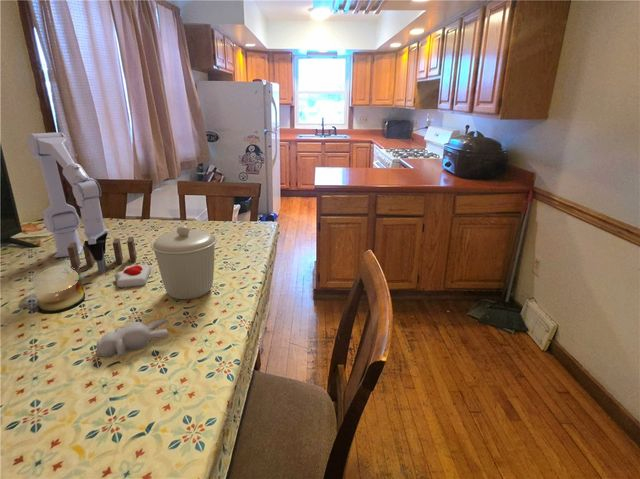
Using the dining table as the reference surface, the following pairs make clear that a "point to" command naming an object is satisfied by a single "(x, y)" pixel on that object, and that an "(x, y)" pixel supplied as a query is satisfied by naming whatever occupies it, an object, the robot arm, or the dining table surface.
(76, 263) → the domino
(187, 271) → the canister
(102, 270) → the loose domino
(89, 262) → the domino
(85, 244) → the robot arm
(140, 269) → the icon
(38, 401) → the dining table surface
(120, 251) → the domino
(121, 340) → the bunny figurine
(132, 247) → the domino
